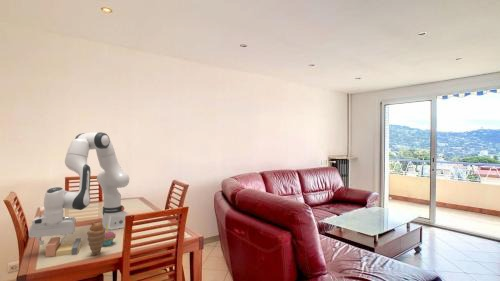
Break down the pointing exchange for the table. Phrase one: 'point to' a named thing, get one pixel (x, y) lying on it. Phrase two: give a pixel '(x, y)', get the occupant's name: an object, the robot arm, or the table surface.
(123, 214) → the robot arm
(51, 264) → the table surface
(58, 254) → the yellow slab with bar
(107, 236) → the cupcake
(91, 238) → the cat ice cream
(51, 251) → the block
